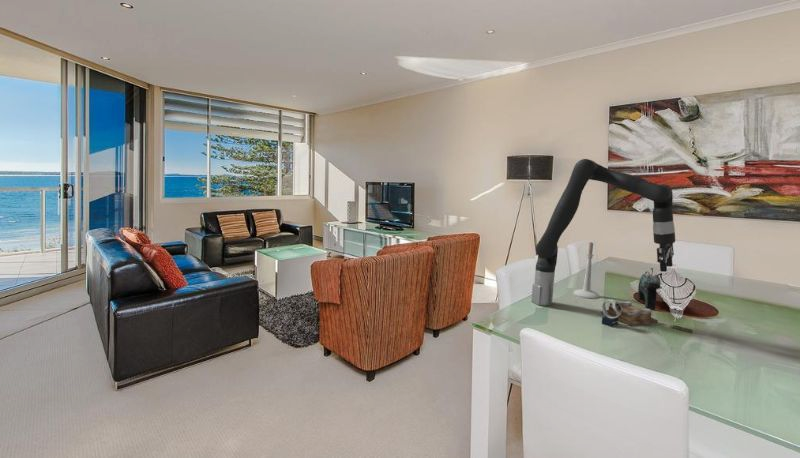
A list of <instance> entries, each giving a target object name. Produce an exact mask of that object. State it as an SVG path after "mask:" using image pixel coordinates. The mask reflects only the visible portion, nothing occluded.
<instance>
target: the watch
mask: <svg viewBox="0 0 800 458" xmlns="http://www.w3.org/2000/svg"><path fill="white" fill-rule="evenodd" d="M607 302H610V303H612V306H613V309H614V311H615V312H616V314H617V316H616V317H615V316H612V315H608V312H607V310H608V309H607V306H606V303H607ZM602 311H603V313H604V314H603V316H602V318H601V324H602V325H604V326H608V327H610V328H612V327H615V326H618V325H619V321H618V317H619V316H620V315H621V312H622V307H621V305H620V303H619V301H617V300H615V299H612V298H611V299H606V300H604V301H603V302H602V303H601V312H602Z"/></svg>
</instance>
